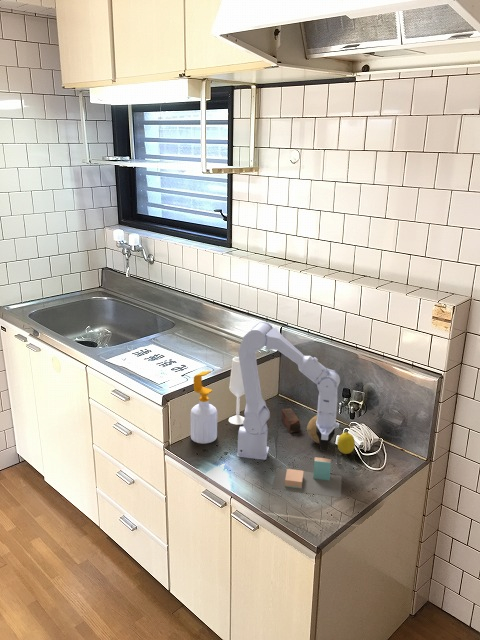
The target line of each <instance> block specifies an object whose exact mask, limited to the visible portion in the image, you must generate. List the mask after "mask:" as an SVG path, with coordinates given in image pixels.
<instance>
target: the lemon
mask: <svg viewBox="0 0 480 640" xmlns="http://www.w3.org/2000/svg"><path fill="white" fill-rule="evenodd" d="M336 445H337V449H338V451H339V452H340V453H342V454H344V455H347V454H348V455H349V454H351V453H352V452H353V451H354V449H355V445H356V444H355V438H354V436H353V435H352V434H351V433H349V432H343V433H341V434H340V435H339V437H338V439H337V444H336Z"/></svg>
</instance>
